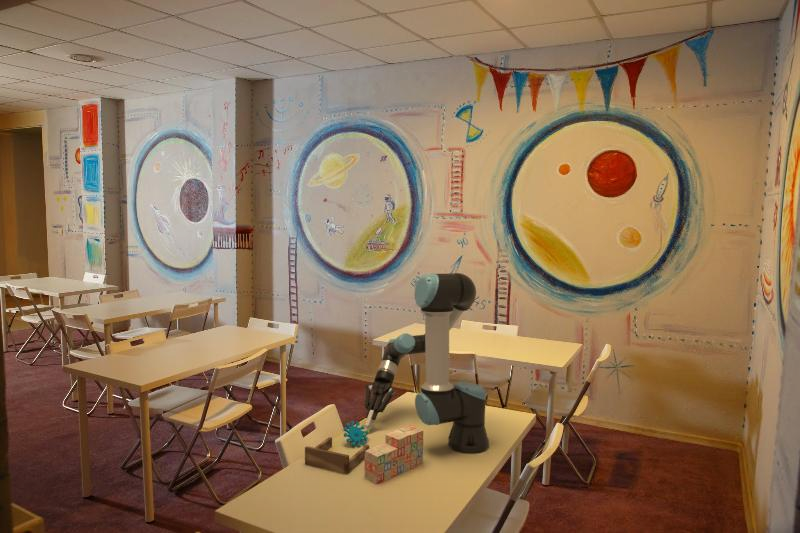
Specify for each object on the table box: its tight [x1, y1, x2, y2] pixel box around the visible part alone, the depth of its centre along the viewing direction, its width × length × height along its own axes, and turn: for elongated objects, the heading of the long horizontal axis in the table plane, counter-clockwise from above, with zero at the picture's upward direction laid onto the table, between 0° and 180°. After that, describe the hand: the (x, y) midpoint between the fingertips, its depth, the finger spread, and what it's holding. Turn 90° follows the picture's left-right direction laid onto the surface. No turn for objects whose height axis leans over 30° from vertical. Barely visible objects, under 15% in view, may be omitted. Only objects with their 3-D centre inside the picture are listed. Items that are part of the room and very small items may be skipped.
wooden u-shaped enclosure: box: [304, 436, 370, 475], centre depth 186 cm, size 16×16×6 cm
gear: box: [342, 420, 370, 448], centre depth 201 cm, size 11×6×10 cm
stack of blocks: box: [364, 425, 424, 485], centre depth 179 cm, size 21×6×12 cm, turn 134°
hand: (367, 426), depth 209 cm, fingers closed
